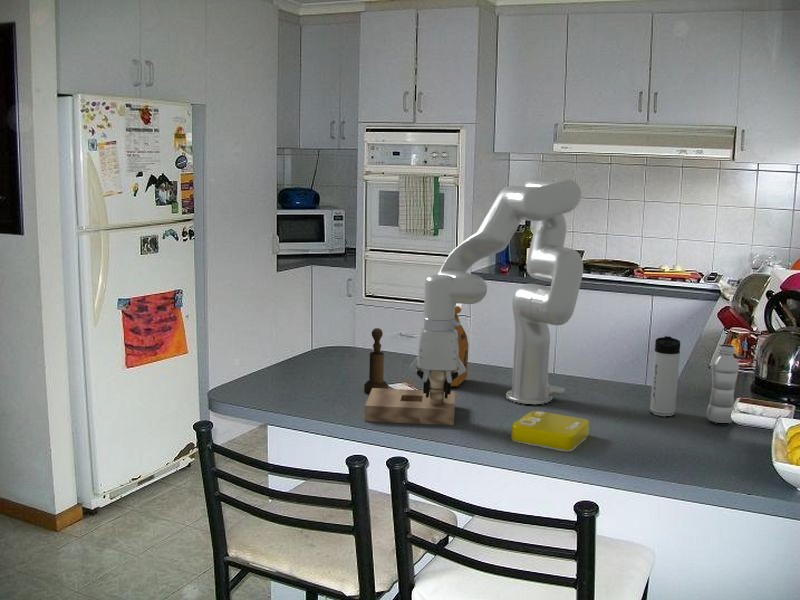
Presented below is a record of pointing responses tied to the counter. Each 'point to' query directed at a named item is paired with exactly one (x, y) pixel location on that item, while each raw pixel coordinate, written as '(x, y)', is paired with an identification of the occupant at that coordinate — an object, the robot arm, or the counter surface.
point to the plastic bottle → (723, 385)
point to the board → (408, 407)
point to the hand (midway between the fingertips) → (436, 395)
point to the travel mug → (665, 375)
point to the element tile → (550, 430)
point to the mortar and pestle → (376, 365)
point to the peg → (437, 386)
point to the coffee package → (461, 350)
